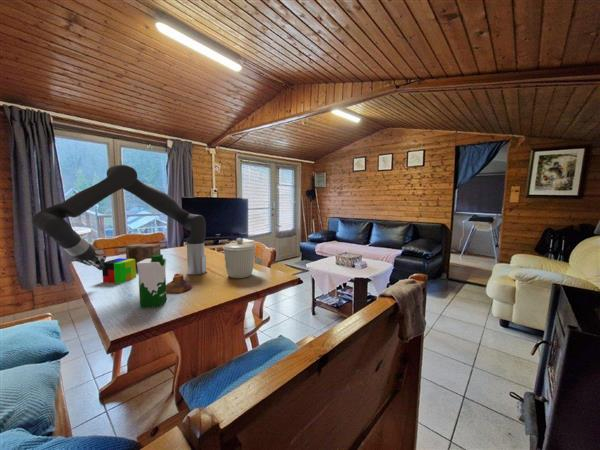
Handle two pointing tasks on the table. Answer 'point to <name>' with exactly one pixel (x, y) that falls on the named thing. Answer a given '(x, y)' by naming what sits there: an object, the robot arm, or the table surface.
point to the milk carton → (152, 281)
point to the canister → (239, 258)
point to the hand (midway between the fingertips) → (102, 268)
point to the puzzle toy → (119, 270)
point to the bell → (178, 285)
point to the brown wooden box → (142, 251)
